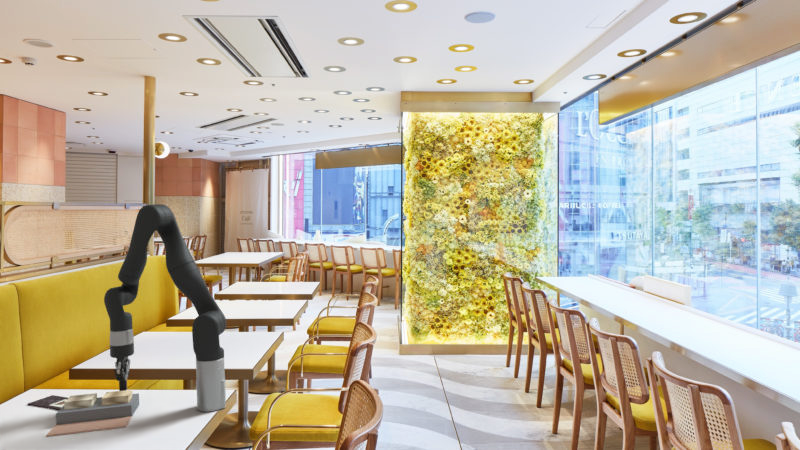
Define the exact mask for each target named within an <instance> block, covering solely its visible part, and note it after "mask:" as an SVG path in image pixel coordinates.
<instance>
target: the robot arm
mask: <svg viewBox="0 0 800 450" xmlns="http://www.w3.org/2000/svg"><path fill="white" fill-rule="evenodd" d="M135 218H136V219H135V222H134V227H133V231H132V236H131V239H130V242H129V247H128V250H127V253H126V255H125V258H124V261H123V263H122V264H121V266H120V269H119V272H118V275H117V278H118V280H119V281H120V282H121V285H120V286H115V287H110V288H108V290H107V291H106V292H105V294H104V298H103V302H104V305H105V306H104V307H105V309H106V312H107V316H108V318H109V355H110V357H111V358H114V359H116V361H115V362H114V367H115V368H114V370H113V372H114V375H115V378H116V381H118V387H119V388H118V389H119V390H118V391H124V390H128V378H129V375H130V365H131V359H129V357H131V356H133V355H134V354H135V341H134V339H135V337H134V330H133V315H132V314H131V312H128V311H125V310H124V307H125V306H127V305H130V304H132V303H133V302H134V301H135V300H136V299H137V296H138V292H139V286H140V279H141V277H142V274H143V273H144V270H145V267H146V265H147V261H148V245H149V242H150V240H151V238H152V236H153V235H154V233H155V232H156V233H157V234H158V236H159V237H160V239H161V241H162V242H163V246H164V249H165V251H164V253H165V265H166V270H167V273H168V274H169V276H170V278H171V280H172V282H173V284H174V285H175V287H176V288H177V289H178V290H179V292H180V293H182V295H184V296H185V297H186V298H187V299H188V300H189V301H190V302H191V304H192V305H193V307H194V309H195V311H196V313H197V317H195V319H194V320H193V321H192V327H191V333H192V347H193V348H192V349H193V351H194V354H195V368H196V369H195V372H196V406H197V407H196V409H197V410H198V411H200V412H203V413H204V412H206V413H207V412H213V411H218V410H222V409H225V408H226V404H227V403H226V402H227V397H226V395H227V393H226V375H225V374H226V373H225V349H224V348H223V347H221V345H220V336H221V334H223V333H224V332H225V331H226V328H227V319H226V316H225V315H224V313H223V311H222V310H221V308H220V306H219V305H218V304H217V303H218V302H216V300H215V299H214V296H212V294H211V292H210V290H209V288H208V285H207V283H206V282H205V280H204V278H203V275H202V273H201V271H200V269H199V267H198V265H197V263H196V261H195V259H194V257H193V255H192V254H191V251H190V249H189V247H188V245H187V243H186V241H185V240H184V238H183V235H182V233H181V230H180V227H179V224H178V221H177V220H176V216H175V215H174V212H173V211H172V209H171V208H170V207H169V206H168V205H166V204H160V203H159V204H146V205H143V206H141V208H140V209H139V210H138V212H137V215H136V217H135Z"/></svg>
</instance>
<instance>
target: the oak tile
mask: <svg viewBox="0 0 800 450" xmlns="http://www.w3.org/2000/svg"><path fill="white" fill-rule="evenodd" d="M132 394H133V389H126V390H124V391H119V390H116V391H107V392H105V394H103V396H101V397H102V406H103V405H112V404H122V403H129V401H130V400H131V398H132Z"/></svg>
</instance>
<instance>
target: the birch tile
mask: <svg viewBox="0 0 800 450" xmlns="http://www.w3.org/2000/svg"><path fill="white" fill-rule="evenodd" d="M67 398H68V399H67V400H66V401H65V402H64V410H66V409H75V408H84V407H92V406H93V405H94V404H95V402H96V401H97V398H98V393H97V392H95V393H86V394H77V395H70V396H69V397H67Z"/></svg>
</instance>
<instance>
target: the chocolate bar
mask: <svg viewBox="0 0 800 450" xmlns="http://www.w3.org/2000/svg"><path fill="white" fill-rule="evenodd" d="M68 398H69V397H68V396H67V397H65V396H61V395H53V394H52V395H49V396H46V397H44V398H40V399H38V400H35V401H34V400H33V401H31V402H27V406H32V407H36V406H37V408H42V407H43V408H44V409H48V408H49V409H50V410H53V411H54V410H55V411H59V410H60V409H61V408H62V407H63V406H64V402H65V401H66V400H67V399H68Z"/></svg>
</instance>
